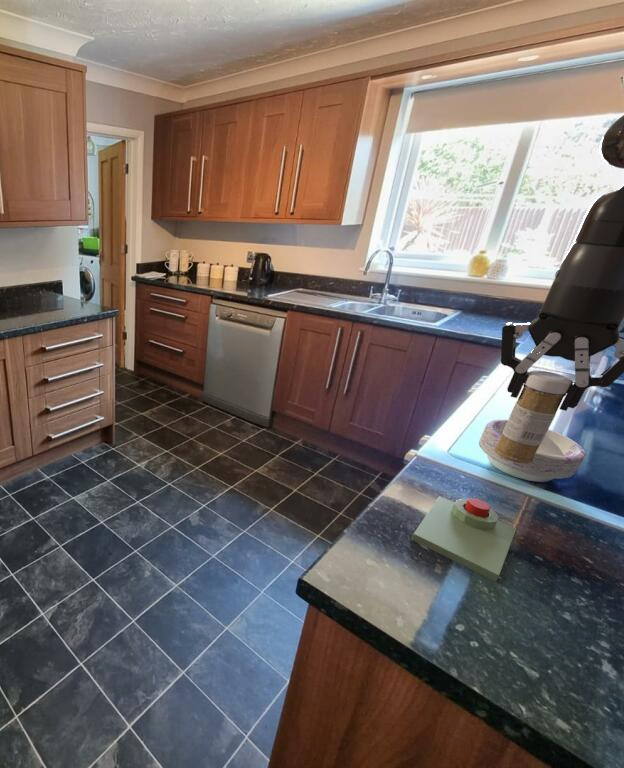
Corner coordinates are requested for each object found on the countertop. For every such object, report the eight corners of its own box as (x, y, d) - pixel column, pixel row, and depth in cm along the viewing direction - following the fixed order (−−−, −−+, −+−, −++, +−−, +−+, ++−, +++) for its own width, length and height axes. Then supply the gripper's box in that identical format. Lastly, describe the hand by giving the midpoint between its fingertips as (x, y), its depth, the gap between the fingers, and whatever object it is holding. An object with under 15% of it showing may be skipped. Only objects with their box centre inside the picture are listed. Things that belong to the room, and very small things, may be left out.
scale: (437, 500, 79) (442, 487, 78) (514, 533, 72) (521, 519, 71) (410, 540, 70) (416, 526, 69) (495, 582, 62) (503, 567, 61)
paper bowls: (579, 501, 80) (600, 466, 77) (478, 475, 87) (493, 442, 84) (556, 462, 92) (572, 431, 89) (468, 442, 99) (481, 412, 96)
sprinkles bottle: (529, 454, 65) (570, 374, 59) (534, 468, 61) (577, 384, 56) (491, 445, 67) (527, 366, 62) (493, 458, 64) (531, 376, 58)
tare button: (466, 503, 75) (470, 495, 74) (488, 512, 73) (492, 504, 72) (462, 511, 73) (466, 503, 72) (484, 520, 71) (488, 512, 70)
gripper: (682, 287, 51) (611, 412, 58) (525, 271, 61) (481, 380, 68) (686, 295, 46) (609, 430, 53) (516, 276, 56) (469, 392, 63)
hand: (538, 401), depth 61 cm, fingers closed on sprinkles bottle, 4 cm apart
